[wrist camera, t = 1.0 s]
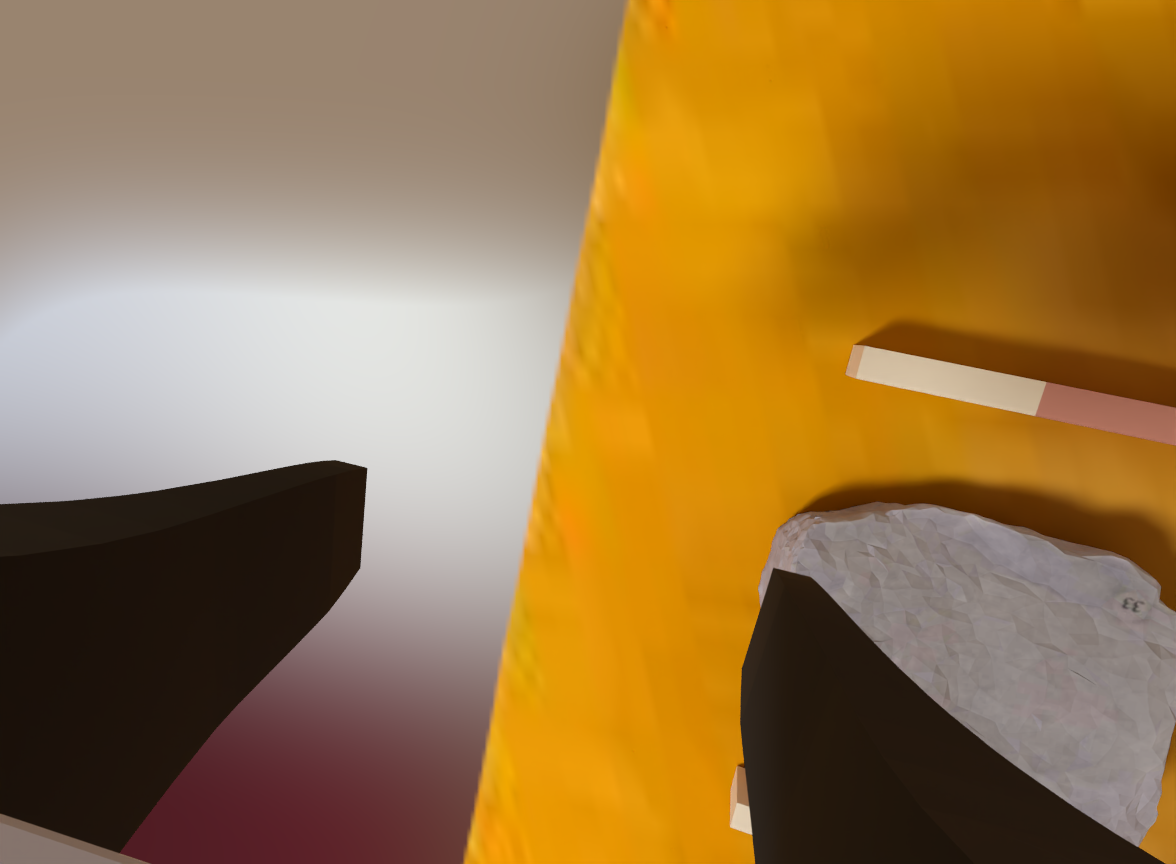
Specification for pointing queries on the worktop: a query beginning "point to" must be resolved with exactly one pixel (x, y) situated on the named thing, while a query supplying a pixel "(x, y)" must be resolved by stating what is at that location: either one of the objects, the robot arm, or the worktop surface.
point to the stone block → (1011, 641)
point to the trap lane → (1000, 394)
